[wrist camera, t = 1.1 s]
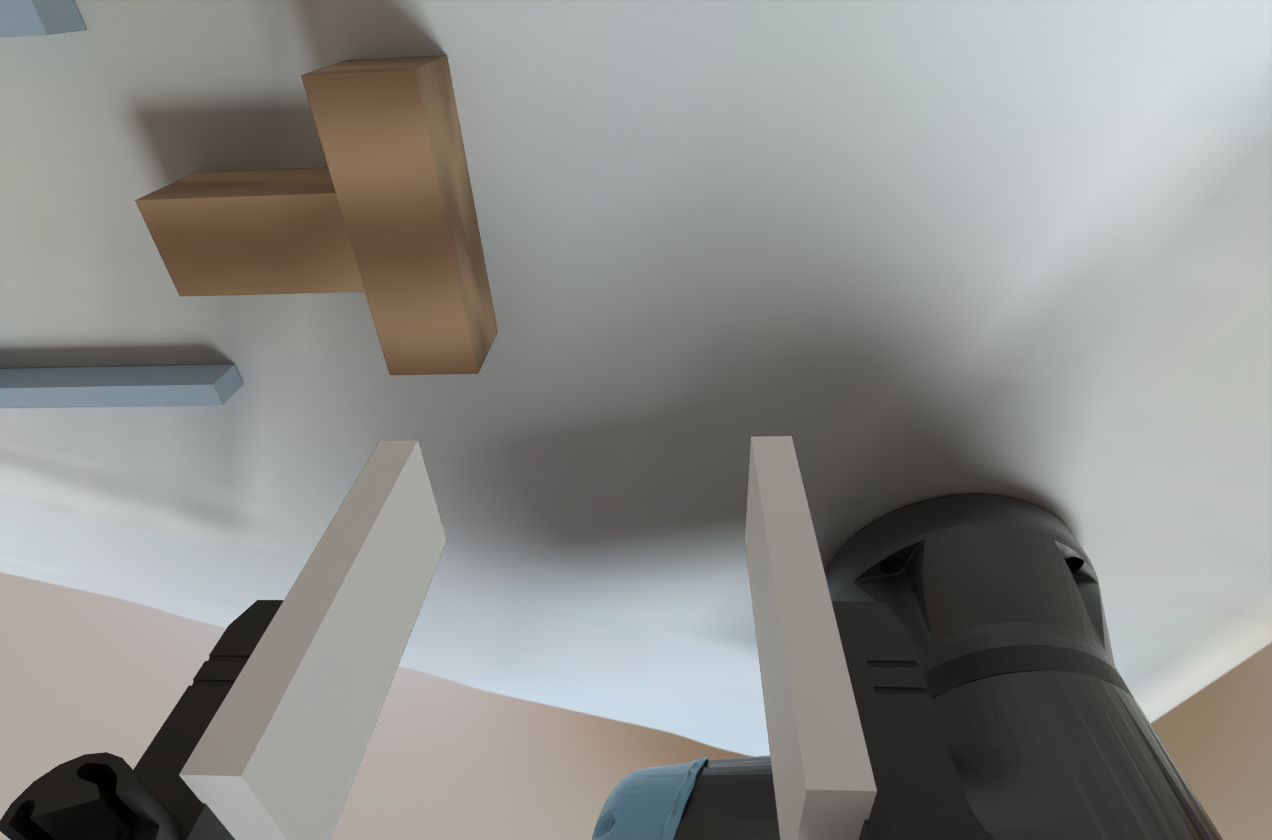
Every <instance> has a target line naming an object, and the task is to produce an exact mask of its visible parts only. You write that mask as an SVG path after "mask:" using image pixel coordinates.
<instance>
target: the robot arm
mask: <svg viewBox="0 0 1272 840" xmlns="http://www.w3.org/2000/svg"><path fill="white" fill-rule="evenodd" d="M446 541H447V540H446V536H445V533H444V529H443V526H442V522H441V519H440V515H439V512H438V508H437V505H436V501H435V498H434V495H433V491H432V488H431V484H430V481H429V477H428V474H427V470H426V467H425V463H424V460H423V456H422V453H421V449H420V446H419V442H418V440H380V442H379V443H378V445H377V447H376V448H375V450H374V452H373V453H372V455H371V457H370V458H369V460H368V462H367V463H366V465H365V467H364V468H363V470H362V472H361V473H360V475H359V477H358V478H357V480H356V482H355V483H354V485H353V486H352V488H351V490H350V491H349V493H348V495H347V496H346V498H345V500H344V501H343V503H342V505H341V506H340V508H339V510H338V511H337V513H336V515H335V516H334V518H333V520H332V521H331V523H330V525H329V526H328V528H327V530H326V531H325V533H324V535H323V536H322V538H321V540H320V541H319V543H318V545H317V546H316V548H315V550H314V551H313V553H312V555H311V556H310V558H309V560H308V561H307V563H306V565H305V566H304V568H303V570H302V571H301V573H300V575H299V576H298V578H297V580H296V581H295V583H294V585H293V586H292V588H291V589H290V591H289V593H288V594H287V596H286V598H285V599H284V600H257V601H256V602H255V603H254V604H253V605H252V606H250V607H249V608H248V609H247V610H246V611H245V612H244V613H242V614H241V615H240V616H239V617H238V618H237V619H236V620H235V621H233V622H232V623H231V624H230V625H229V626H228V627H227V629H226V630H225V632H224V633H223V635H222V637H221V638H220V640H219V641H218V643H217V644H216V646H215V647H214V649H213V650H212V652H211V653H210V655H209V656H210V658H209V660H208V661H205V662H204V664H203V665H202V667H201V668H200V670H199V671H198V673H197V675H196V676H195V677H194V679H193V681H194V682H193V685H192V686H188V688H187V689H186V691H185V692H184V694H183V695H182V697H181V699H180V700H179V702H178V703H177V705H176V706H175V708H174V709H173V711H172V712H171V714H170V715H169V717H168V718H167V720H166V721H165V723H164V724H163V726H162V727H161V729H160V730H159V732H158V733H157V735H156V736H155V738H154V739H153V741H152V742H151V744H150V745H149V747H148V749H147V750H146V752H145V753H144V754H143V756H142V758H141V759H140V761H139V762H138V764H137V765H136V767H135V768H134V770H132V768H131V767H130V766H129V765H128V764H127V763H126V762H125V761H124V759H123V758H121V757H118V756H115V755H112V754H109V753H107V752H106V753H96V754H86V755H83V756H80V757H78V758H75V759H73V760H70V761H68V762H66V763H63V764H60V765H58V766H57V767H55V768H54V769H52V770H51V771H50V772H48V773H46V774H45V775H43V776H42V777H40V778H39V779H37V780H36V781H34V782H33V783H32V784H31V785H30V786H29V787H28V788H27V789H26V790H25V791H24V792H23V793H22V794H21V795H20V796H19V797H18V798H17V799H16V800H15V801H14V802H13V803H12V804H11V805H10V807H9V808H8V810H7V811H6V813H5V814H4V816H3V817H2V819H1V820H0V831H1V832H2V833H3V834H5V835H6V836H7V837H8V838H9V839H11V840H331V838H332V836H333V833H334V831H335V828H336V825H337V822H338V820H339V818H340V815H341V812H342V810H343V807H344V805H345V802H346V800H347V797H348V794H349V792H350V789H351V786H352V784H353V781H354V779H355V776H356V774H357V771H358V769H359V766H360V763H361V761H362V758H363V756H364V753H365V750H366V748H367V745H368V743H369V740H370V738H371V735H372V732H373V730H374V727H375V725H376V722H377V719H378V717H379V714H380V712H381V709H382V707H383V704H384V701H385V699H386V696H387V694H388V691H389V688H390V686H391V683H392V681H393V678H394V675H395V673H396V670H397V668H398V665H399V663H400V660H401V657H402V655H403V652H404V650H405V647H406V644H407V642H408V639H409V637H410V634H411V632H412V629H413V626H414V624H415V621H416V619H417V616H418V613H419V611H420V608H421V606H422V603H423V601H424V598H425V595H426V593H427V590H428V588H429V585H430V582H431V580H432V577H433V575H434V572H435V570H436V567H437V564H438V562H439V559H440V557H441V554H442V551H443V549H444V546H445V544H446ZM745 546H746V554H747V562H748V571H749V579H750V588H751V596H752V605H753V613H754V621H755V630H756V638H757V647H758V655H759V664H760V672H761V681H762V689H763V697H764V706H765V714H766V723H767V731H768V740H769V748H770V756H759V757H746V758H732V759H719V760H710V758H709V757H700V758H697V759H696V760H695V761H694V762H691V763H683V764H675V765H667V766H659V767H652V768H644V769H640V770H637V771H635V772H633V773H630V774H629V775H627V776H626V777H625V778H623V779H622V780H621V781H620V782H619V783H618V784H617V785H616V786H615V788H614V789H613V790H612V792H611V793H610V795H609V796H608V798H607V800H606V802H605V804H604V806H603V808H602V811H601V813H600V815H599V818H598V821H597V823H596V827H595V830H594V833H593V837H592V840H1223V839H1222V837H1221V836H1220V834H1219V833H1218V831H1217V829H1216V828H1215V826H1214V825H1213V823H1212V821H1211V820H1210V818H1209V817H1208V815H1207V814H1206V812H1205V810H1204V809H1203V807H1202V806H1201V804H1200V802H1199V801H1198V799H1197V798H1196V796H1195V794H1194V793H1193V791H1192V790H1191V788H1190V786H1189V785H1188V784H1187V782H1186V780H1185V779H1184V777H1183V775H1182V774H1181V772H1180V770H1179V769H1178V767H1177V766H1176V764H1175V763H1174V761H1173V759H1172V758H1171V756H1170V755H1169V753H1168V751H1167V750H1166V748H1165V747H1164V745H1163V743H1162V742H1161V740H1160V739H1159V737H1158V735H1157V734H1156V732H1155V731H1154V729H1153V728H1152V726H1151V724H1150V723H1149V721H1148V719H1147V718H1146V716H1145V715H1144V713H1143V712H1142V710H1141V708H1140V707H1139V705H1138V704H1137V702H1136V701H1135V699H1134V698H1133V696H1132V694H1131V693H1130V691H1129V689H1128V688H1127V686H1126V684H1125V683H1124V681H1123V679H1122V677H1121V676H1120V674H1119V672H1118V671H1117V669H1116V667H1115V664H1114V660H1113V655H1112V650H1111V644H1110V639H1109V634H1108V629H1107V624H1106V619H1105V614H1104V609H1103V604H1102V598H1101V593H1100V588H1099V583H1098V579H1097V576H1096V572H1095V570H1094V568H1093V566H1092V563H1091V561H1090V560H1089V558H1088V556H1087V555H1086V553H1085V552H1084V550H1083V549H1082V547H1081V546H1080V544H1079V543H1078V541H1077V540H1076V539H1075V537H1074V536H1073V534H1072V533H1071V531H1070V530H1069V529H1068V528H1067V526H1066V525H1065V524H1064V523H1063V522H1062V521H1060V520H1059V519H1058V518H1057V517H1056V516H1054V515H1053V514H1051V513H1050V512H1048V511H1046V510H1044V509H1042V508H1040V507H1038V506H1036V505H1033V504H1031V503H1028V502H1025V501H1021V500H1018V499H1013V498H1009V497H1002V496H994V495H959V496H950V497H943V498H938V499H933V500H929V501H924V502H921V503H917V504H914V505H911V506H908V507H905V508H903V509H900V510H898V511H895V512H893V513H891V514H889V515H887V516H885V517H883V518H881V519H879V520H877V521H875V522H874V523H872V524H871V525H869V526H867V527H866V528H865V529H863V530H862V531H860V532H859V533H858V534H857V535H855V536H854V537H853V538H852V539H851V540H850V541H848V542H847V543H846V544H845V545H844V546H843V548H842V549H841V550H840V551H839V552H838V553H837V555H836V556H835V557H834V559H833V560H832V562H831V564H830V565H829V567H828V569H827V571H826V574H825V573H824V568H823V564H822V560H821V556H820V552H819V548H818V543H817V539H816V535H815V531H814V527H813V523H812V519H811V514H810V510H809V506H808V502H807V498H806V494H805V489H804V485H803V481H802V477H801V473H800V469H799V464H798V460H797V456H796V452H795V448H794V444H793V439H792V436H751V447H750V463H749V480H748V497H747V513H746V530H745Z"/></svg>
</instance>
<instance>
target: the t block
mask: <svg viewBox="0 0 1272 840" xmlns="http://www.w3.org/2000/svg"><path fill="white" fill-rule="evenodd" d="M301 77H302V80H303V84H304V87H305V90H306V94H307V97H308V100H309V104H310V107H311V111H312V114H313V117H314V121H315V124H316V127H317V131H318V134H319V138H320V141H321V144H322V148H323V151H324V154H325V158H326V161H327V165H328V168H303V169H277V170H251V171H226V172H200V173H194V174H191V175H189V176H187V177H185V178H183V179H181V180H178V181H176V182H174V183H172V184H170V185H168V186H165V187H163V188H161V189H159V190H157V191H155V192H152V193H150V194H148V195H146V196H144V197H142V198H139V199H137V200H135V201H136V203H137V205H138V208H139V210H140V212H141V214H142V216H143V218H144V220H145V223H146V225H147V227H148V229H149V231H150V233H151V235H152V238H153V240H154V242H155V244H156V246H157V248H158V251H159V253H160V255H161V257H162V259H163V261H164V263H165V266H166V268H167V270H168V272H169V274H170V276H171V278H172V281H173V283H174V285H175V287H176V289H177V291H178V294H179V296H215V295H253V294H291V293H329V292H365V293H366V296H367V300H368V303H369V306H370V310H371V313H372V317H373V320H374V323H375V327H376V330H377V333H378V337H379V340H380V344H381V347H382V350H383V354H384V357H385V360H386V364H387V367H388V371H389V374H390V375H428V374H478V373H479V371H480V369H481V366H482V364H483V362H484V360H485V358H486V356H487V354H488V351H489V349H490V347H491V345H492V343H493V341H494V339H495V336H496V334H497V332H498V331H497V326H496V320H495V315H494V309H493V304H492V298H491V293H490V287H489V282H488V277H487V271H486V266H485V260H484V255H483V249H482V244H481V238H480V233H479V228H478V222H477V217H476V211H475V206H474V200H473V195H472V189H471V184H470V178H469V173H468V168H467V162H466V157H465V151H464V146H463V140H462V135H461V129H460V124H459V118H458V113H457V108H456V102H455V97H454V91H453V86H452V80H451V75H450V69H449V64H448V59H447V55H443V56H423V57H403V58H383V59H363V60H347V61H344V62H341V63H337V64H334V65H331V66H328V67H325V68H322V69H319V70H316V71H313V72H310V73H307V74H304V75H301Z"/></svg>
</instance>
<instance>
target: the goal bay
mask: <svg viewBox="0 0 1272 840" xmlns="http://www.w3.org/2000/svg"><path fill="white" fill-rule="evenodd" d="M80 30H87V29H86V27H85V25H84V22H83V20H82V18H81V16H80V13H79V11H78V9H77V6H76V4H75V2H74V0H0V37H15V36H34V35H50V34H57V33H65V32H72V31H80ZM242 385H243V382H242V379H241V377H240V375H239V372H238V370H237V368H236V366H235V364H220V365H168V366H115V367H63V368H11V369H0V408H57V407H124V406H191V405H223V404H224V403H225V402H226V401H227V400H228V399H229V398H230V397H231V396H232V395H233V394H234V393H235V392H236V391H237V390H238V389H239V388H240V387H241V386H242Z"/></svg>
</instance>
